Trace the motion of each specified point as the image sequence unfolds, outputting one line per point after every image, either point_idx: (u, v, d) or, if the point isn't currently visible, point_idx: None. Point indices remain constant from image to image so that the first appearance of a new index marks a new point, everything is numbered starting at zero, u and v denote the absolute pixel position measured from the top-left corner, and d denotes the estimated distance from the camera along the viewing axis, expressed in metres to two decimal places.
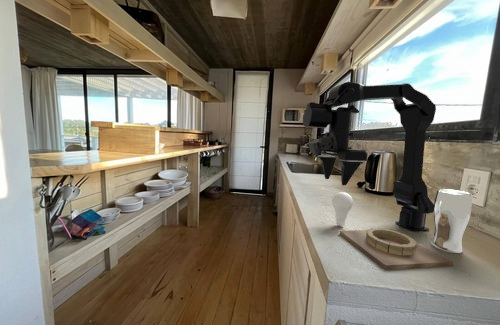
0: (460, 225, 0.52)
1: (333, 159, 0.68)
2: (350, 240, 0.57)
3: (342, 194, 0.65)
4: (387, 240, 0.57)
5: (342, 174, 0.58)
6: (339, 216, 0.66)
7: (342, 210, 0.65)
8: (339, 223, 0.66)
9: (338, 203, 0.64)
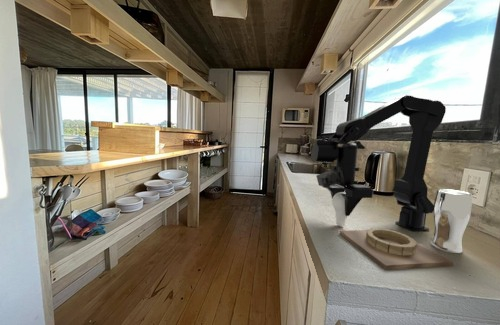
0: (460, 225, 0.52)
1: (342, 190, 0.70)
2: (350, 240, 0.57)
3: None
4: (387, 240, 0.57)
5: (346, 206, 0.63)
6: (339, 216, 0.66)
7: (342, 210, 0.65)
8: (339, 223, 0.66)
9: (338, 203, 0.64)
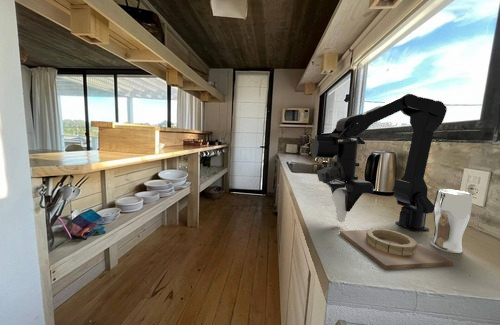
0: (460, 225, 0.52)
1: (342, 186, 0.70)
2: (350, 240, 0.57)
3: None
4: (387, 240, 0.57)
5: (346, 201, 0.63)
6: (339, 212, 0.66)
7: (342, 206, 0.65)
8: (339, 219, 0.66)
9: (339, 198, 0.64)
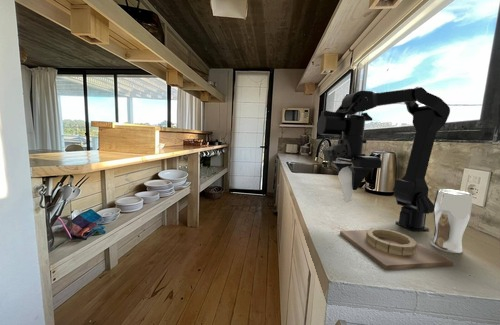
0: (460, 225, 0.52)
1: (349, 165, 0.68)
2: (350, 240, 0.57)
3: None
4: (387, 240, 0.57)
5: (353, 179, 0.61)
6: (346, 191, 0.64)
7: (348, 184, 0.63)
8: (346, 198, 0.64)
9: (345, 177, 0.62)
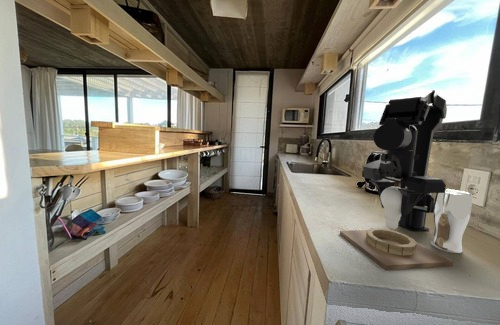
0: (460, 225, 0.52)
1: (391, 184, 0.57)
2: (350, 240, 0.57)
3: (396, 189, 0.52)
4: (387, 240, 0.57)
5: (403, 204, 0.50)
6: (391, 217, 0.53)
7: (396, 209, 0.51)
8: (391, 225, 0.53)
9: (392, 200, 0.51)
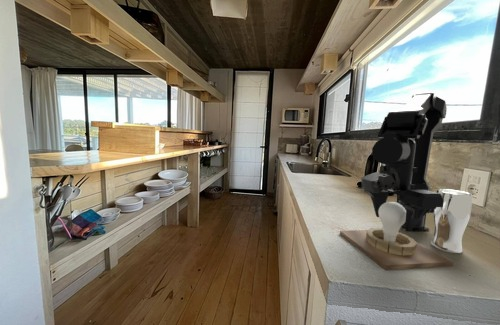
0: (460, 225, 0.52)
1: (385, 194, 0.58)
2: (350, 240, 0.57)
3: (393, 205, 0.52)
4: None
5: (407, 219, 0.48)
6: (389, 232, 0.53)
7: (393, 225, 0.52)
8: (389, 240, 0.54)
9: (389, 216, 0.52)
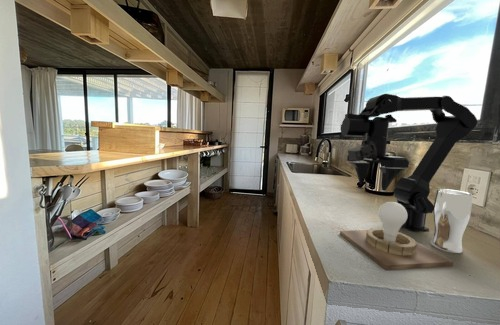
0: (460, 225, 0.52)
1: (367, 165, 0.72)
2: (350, 240, 0.57)
3: (393, 204, 0.52)
4: None
5: (383, 180, 0.62)
6: (389, 232, 0.53)
7: (393, 225, 0.52)
8: (389, 240, 0.54)
9: (390, 216, 0.52)
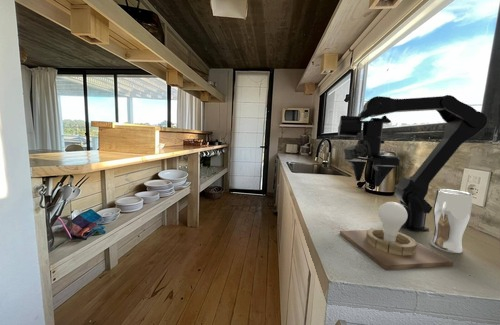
0: (460, 225, 0.52)
1: (363, 163, 0.76)
2: (350, 240, 0.57)
3: (394, 205, 0.52)
4: None
5: (376, 177, 0.66)
6: (389, 232, 0.53)
7: (393, 225, 0.52)
8: (389, 240, 0.54)
9: (390, 216, 0.52)
